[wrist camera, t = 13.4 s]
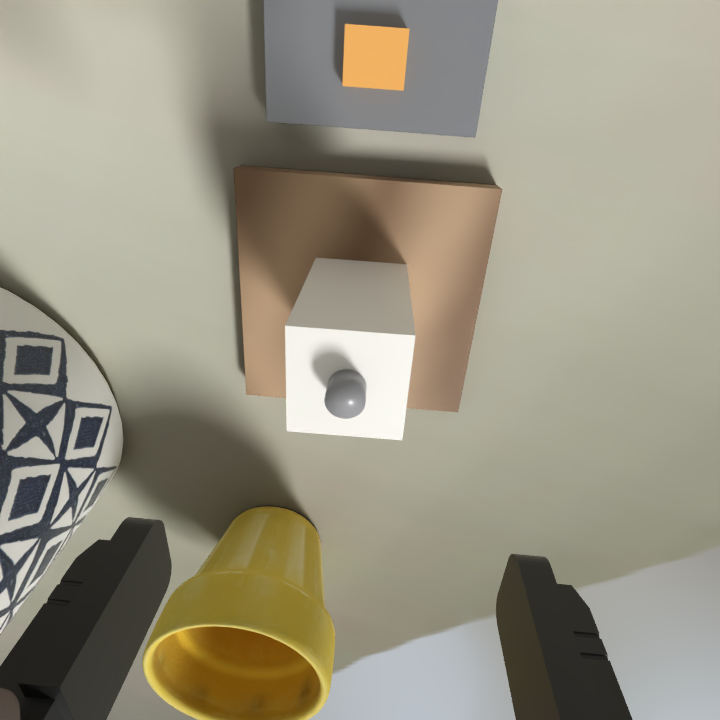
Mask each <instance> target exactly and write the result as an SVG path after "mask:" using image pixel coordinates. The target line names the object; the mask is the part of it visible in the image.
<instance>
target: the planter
mask: <svg viewBox="0 0 720 720" xmlns="http://www.w3.org/2000/svg"><path fill="white" fill-rule="evenodd" d="M122 448H123V430H122V422H121V418H120V414H119V411H118V407H117V403H116V401H115V399H114V396H113V394H112V392H111V390H110V388H109V385H108V383H107V382H106V380H105V378H104V377H103V375H102V374H101V372H100V371H99V369H98V368H97V366H96V364H95V363H94V362H93V360H92V359H91V358H90V357H89V356H88V354H87V353H86V352H85V351H84V350H83V348H82V347H81V346H80V345H79V344H78V342H76V341H75V340H74V339H73V338H72V337H71V336H70V335H69V334H68V333H67V332H66V331H65V330H64V329H63V328H62V327H61V326H59V325H58V324H57V323H56V322H55V321H53V320H52V319H51V318H49V317H48V316H47V315H45V314H44V313H43V312H41V311H40V310H39V309H37V308H36V307H35V306H33V305H31V304H30V303H28V302H26V301H25V300H23V299H21V298H20V297H18V296H16V295H15V294H13V293H11V292H9V291H7V290H5V289H3V288H1V287H0V634H1V633H2V632H3V630H4V629H5V627H6V626H7V625H8V623H9V622H10V621H11V619H12V618H13V616H14V615H15V614H16V612H17V611H18V610H19V608H20V607H21V605H22V604H23V603H24V601H25V600H26V599H27V597H28V596H29V594H30V593H31V592H32V590H33V589H34V588H35V586H36V585H37V583H38V582H39V581H40V579H41V578H42V577H43V575H44V574H45V572H46V571H47V570H48V568H49V567H50V565H51V564H52V563H53V561H54V560H55V559H56V557H57V556H58V554H59V553H60V552H61V550H62V549H63V547H64V546H65V545H66V543H67V542H68V541H69V539H70V538H71V536H72V535H73V534H74V532H75V531H76V530H77V528H78V527H79V525H80V524H81V523H82V521H83V520H84V518H85V517H86V516H87V514H88V513H89V512H90V510H91V509H92V507H93V506H94V505H95V503H96V502H97V500H98V499H99V497H100V496H101V495H102V493H103V492H104V490H105V489H106V488H107V486H108V485H109V483H110V482H111V480H112V479H113V477H114V476H115V474H116V472H117V469H118V466H119V463H120V461H121V456H122Z"/></svg>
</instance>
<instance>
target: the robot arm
mask: <svg viewBox="0 0 720 720" xmlns="http://www.w3.org/2000/svg"><path fill="white" fill-rule="evenodd" d="M170 576H171V559H170V553H169V548H168V543H167V538H166V533H165V527H164V524H163V522H162V521H161V520H153V519H143V518H132V517H128V518H126V519H125V520H124V521H123V522H122V523H121V525H120V526H119V528H118V529H117V531H116V532H115V534H114V535H113V537H112V538H111V540H98V541H96V542H95V543H94V544H93V545H91V546H90V547H89V548H88V549H86V550H85V551H84V552H83V553H82V554H80V555H79V556H78V557H77V558H76V559H75V560H74V562H73V563H72V565H71V566H70V568H69V569H68V570H67V572H66V573H65V575H64V576H63V578H62V579H61V583H60V584H59V585H57V586H56V588H55V589H54V590H53V592H52V593H51V595H50V596H49V598H48V601H47V603H46V604H45V603H44V605H43V606H42V608H41V609H40V610H39V612H38V613H37V615H36V616H35V618H34V619H33V620H32V622H31V623H30V625H29V626H28V628H27V629H26V630H25V632H24V633H23V635H22V636H21V638H20V639H19V640H18V642H17V643H16V645H15V646H14V648H13V649H12V650H11V652H10V653H9V655H8V656H7V658H6V659H5V660H4V662H3V663H2V665H1V666H0V720H106V719H107V717H108V715H109V713H110V711H111V708H112V706H113V704H114V702H115V700H116V698H117V696H118V693H119V691H120V689H121V687H122V685H123V683H124V681H125V678H126V676H127V674H128V672H129V670H130V668H131V666H132V664H133V661H134V659H135V657H136V655H137V653H138V651H139V649H140V646H141V644H142V642H143V640H144V638H145V636H146V634H147V631H148V629H149V627H150V625H151V623H152V621H153V619H154V617H155V614H156V612H157V610H158V608H159V606H160V604H161V602H162V599H163V597H164V595H165V593H166V591H167V588H168V585H169V581H170ZM496 617H497V625H498V631H499V635H500V641H501V645H502V651H503V656H504V661H505V666H506V671H507V676H508V682H509V687H510V692H511V697H512V702H513V707H514V712H515V716H516V720H632V717H631V715H630V712H629V710H628V707H627V704H626V702H625V699H624V696H623V694H622V691H621V689H620V686H619V684H618V681H617V678H616V676H615V673H614V671H613V668H612V665H611V663H610V661H608V658H607V652H606V650H605V647H604V645H603V642H602V640H601V639H600V638H599V632H598V629H597V627H596V624H595V621H594V619H593V616H592V614H591V611H590V608H589V607H588V606H587V604H586V603H585V602H584V601H583V599H582V598H581V597H580V596H579V594H578V593H577V592H576V590H575V589H574V588H573V587H572V585H563V584H557V583H556V580H555V577H554V574H553V571H552V568H551V565H550V563H549V561H548V559H547V558H546V557H540V556H529V555H518V554H511V555H510V557H509V559H508V562H507V566H506V569H505V572H504V576H503V579H502V582H501V586H500V589H499V592H498V596H497V603H496Z"/></svg>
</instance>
